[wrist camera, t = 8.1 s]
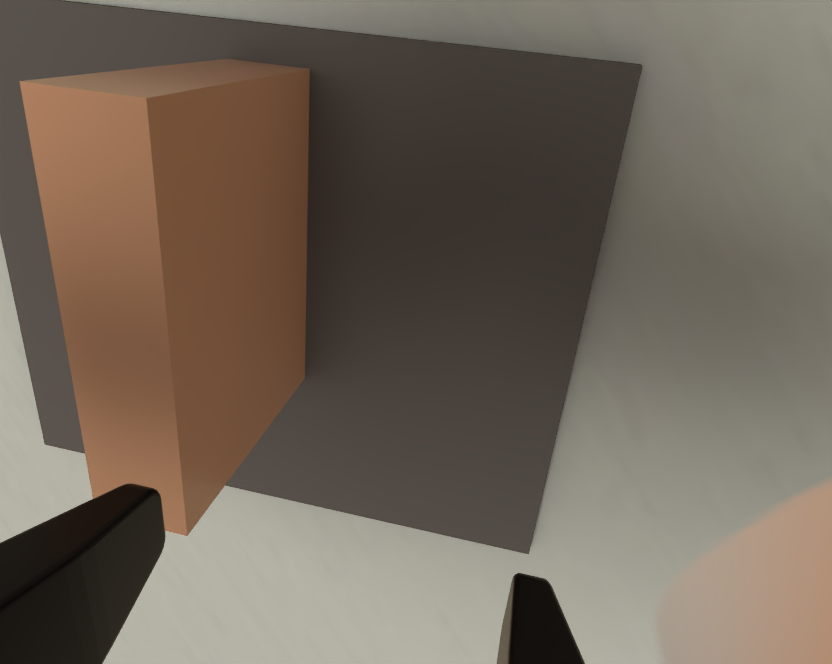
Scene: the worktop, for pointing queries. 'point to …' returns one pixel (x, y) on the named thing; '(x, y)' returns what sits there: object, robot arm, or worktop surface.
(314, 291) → the rubber mat
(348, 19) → the worktop surface
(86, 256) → the terracotta brick
